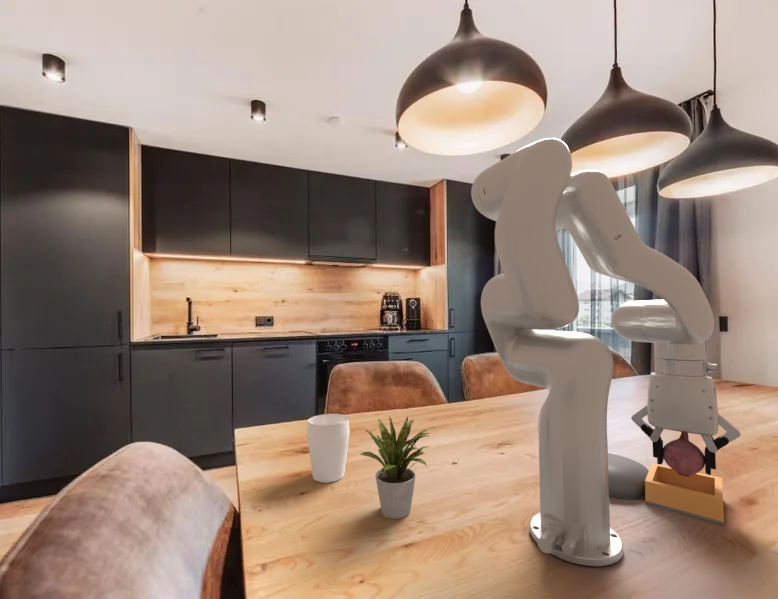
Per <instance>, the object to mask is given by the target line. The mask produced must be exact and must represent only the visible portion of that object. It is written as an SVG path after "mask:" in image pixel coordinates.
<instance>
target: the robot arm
mask: <svg viewBox="0 0 778 599" xmlns="http://www.w3.org/2000/svg"><path fill="white" fill-rule="evenodd" d="M572 171H573V159H572V154H571V150H570V149H569V146H568V145H567V144H566V143H565V141H563V140H561V139H559V138H556V137H546V138H543V139H539V140H536V141H534V142H532V143H530V144H527V145H525V146H523V147H521V148H519V149H518V150H516V151H515V152H513V153H511V154H509V155H508V156H507V157H505V158H503V159H501V160H499V161H498V162H496V163H494V164H492V165H490V166H489V167H487V168H486V169H484V170H483V171H482V172H480V173H479V174H478V175H477V176H476V178H475V179H474V181H473V183H472V185H471V190H470V191H471V193H470V194H471V201H472V203H473V205H474V207H475V209H476V210H477V211H478V212H479V214H481V215H483V216H484V217H486V218H487V219H490V220H492V221H495V222H496V226H495V230H494V243H495V250H496V253H497V257H498V260H499V263H500V265H501V269H502V271H503V273H499V274H497V275H495V276H493V277H491V279H489V280H488V281H487V282H486V283H485V285H484V287H483V290H482V292H481V296H480V309H481V314H482V317H483V320H484V323H485V326H486V329H487V330H488V333H489V335H490V338H491V340H492V342H493V345H494V347H495V350H496V353H497V354H498V357H499V359H500V361H501V364H502V366H503V368H504V370H505V371H506V372H507V373H508V375H509V376H510V377H511V378H513V379H514V380H515V381H517V382H519V383H522V384H527V385H531V386H535V387H539V388H544V389H546V390H549V391H548V395H547V396H546V399H545V401H544V402H543V404H542V406H541V408H540V410H539V412H538V419H537V420H538V421H537V428H538V429H537V434H538V457H539V458H538V463H539V464H538V466H539V467H538V468H539V470H538V471H539V473H538V474H539V504H540V505H539V508H540V511H539V512H538V513H536V514H535V515H533V517H532V518H531V519H530V522H529V530H530V535H531V537H532V538H533V540H534V541H535V543H537V546H538V548H539V550H540V551H541V552H542V553H545V554H551V555H553V556H555V557H557V558H559V559H561V560H564V561H566V562H568V563H572V564H576V565H582V566H586V567H588V566H589V567H606V566H609V565H613V564H615V563H617V562H619V561H620V560H621V559H622V557H623V555H624V544H623V540H622V539H621V537H620V535H619V534H618V533H617V532H616V531H615V530H614V529H612V527H611V517H610V510H611V509H610V497H609V475H608V453H609V451H608V450H609V445H608V444H609V442H608V404H609V403H608V402H609V395H610V388H611V385H612V379H613V375H614V374H613V373H614V358H613V354H612V351H611V350H610V348H609V347H608V345H607V344H606V343H605V341H604V340H603V341H602V340H601V339H600V338H599V337H597V336H594V335H592V334H589V333H585V332H582V331H581V332H580V331H574V330H573V331H571V330H570V331H569V330H558V329H563V328H566V327H568V326H570V325H571V324H573V323H574V322H575V320H576V319H577V317H578V315H579V312H580V302H579V297H578V293H577V290H576V287H575V285H574V282H573V279H572V276H571V273H570V271H569V269H568V266H567V262H566V260H565V257H564V255H563V253H562V249H561V246H560V243H559V239H558V236H557V231H560V230H564V229H566V231H568V232H569V234H570V235H571V237H572V239H573V241H574V243H575V244H576V246H577V248H578V249H579V252H580V253H581V255H582V257H583V258H584V261H585V262H586V264H587V265H588V267H589V268H590V269H591V270H592V271H593V272H596V273H597V274H599V275H600V274H601V275H603V276H606V277H610V278H612V279H617V280H620V281H624V282H627V283H631V284H633V285H636V286H640V287H643V288H644V289H647V290H648V291H650V292H652V293H654V294H656V295H657V296H658V297H659V298H660V299H648V300H646V299H644V300H643V299H642V300H639V299H638V300H630V301H626V302H624V303H622V304H620V305H618V307H617V308H616V309H615V310H614V311H613V313H612V316H611V324H612V328H613V330H614V332H615V333H616V334H617V335H618V336H620V337H621V338H622V339H625V340H627V341H630V342H637V343H638V342H639V343H651V344H653V361H654V363H653V364H654V372H650V375H649V380H648V389H647V404H646V405H645V406H644V407H642V408H641V409H640V410H638V411H637V412H635V413H634V414H633V415H632V416H631V418H630V419H631V420H632V422H633V423H634V424H635V425H636V426H637V427H639V428H640V430H641V431H642V432H643V433H644V434H645V435H646V436H647V437H648V438H649V439H650V441H651V442H652V457H653V458H656V459H657V460H656V461H657V463H656V464H660V465H663V463H664V461H665V460H664V458H663V453H662V450H663V447H664V440H663V439H662V436H661V435H662V433H663V431H664V430H668V431H675V432H686V433H688V434H693V435H694V434H695V435H700V436H701V438H702V441H703V442H704V444H705V447H704V456H705V466H704V468H705V470H704V471H705V473H704V474H706V475H711V476H712V470H714V471H715V470H717V462H716V461H717V460H716V459H717V458H716V453H717V452H718V451H719V450H721V449H723V448H724V447H726V446H727V445H729V443H731V442H733V441H735V440H736V439H738V438H740V437H741V431H740V430H739V429H738V428H737V427H736V426H734V425H733V424H731V422H730V421H728V420H727V419H726V418H725V417H724V416H722V415H721V414H720V413H719V407H718V398H717V392H716V387H715V382H714V379H713V377H712V376H708V375H707V374H709V373H712V372H716V373H717V372H718V365H717V363H712V362H709V361H707V357H706V356H707V355H706V341H708V340H709V339H710V337H711V335H712V334H713V331H714V327H715V319H714V314H713V310H712V308H711V304H710V303H709V302H710V301H709V300H708V298H707V295H706V294H705V292H704V289H703V288H702V286H701V284H700V282H699V281H698V279H697V278H696V276H694V275H693V274H692V272H690V271H689V270H688V269H687V268H686V267H684V266H683V265H681V264H680V263H678V262H677V261H675V260H674V259H672V258H671V257H669V256H667V255H666V254H664V253H663V252H661V251H658V250H656V249H655V248H653V247H651V246H648V245H647V244H645V243H644V242H643V241H642V239H641V237H640V235H639V233H638V231H637V229H636V227H635V226H634V224H633V222H632V220H631V218H630V216H629V214H628V212H627V211H626V208H625V206H624V204H623V202H622V200H621V198H620V197H619V195H618V193H617V191H616V189H615V187H614V185H613V183H612V182H611V180H610V178H609V177H608V175H606V174H605V172H603V171H601V170H598V169H592V168H591V169H584V170H580V171H576V172H573V173H572ZM556 329H557V330H556ZM646 416H647V421H648V423H649V424H650V425H649V424H648V423H647V422H645V420H644V418H645V417H646ZM651 426H653V427H654V429H653V427H651ZM719 427H721V428H722V429H723V430H724V431H725V433H724V434H721V435H719V436H718V437H716V438H714V435H717V434H718V432H719Z"/></svg>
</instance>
